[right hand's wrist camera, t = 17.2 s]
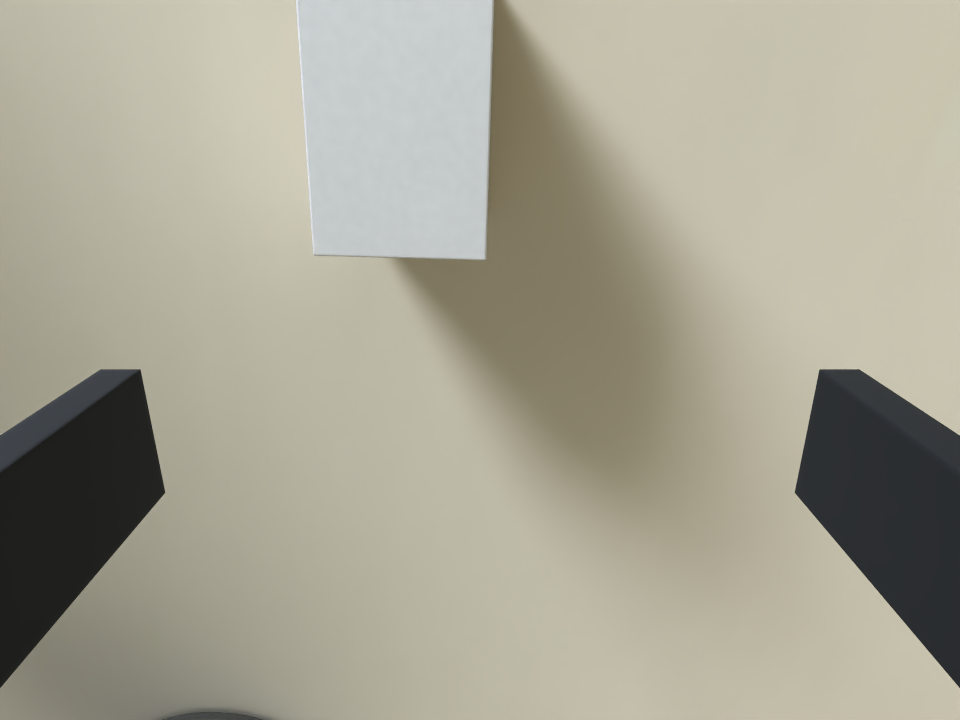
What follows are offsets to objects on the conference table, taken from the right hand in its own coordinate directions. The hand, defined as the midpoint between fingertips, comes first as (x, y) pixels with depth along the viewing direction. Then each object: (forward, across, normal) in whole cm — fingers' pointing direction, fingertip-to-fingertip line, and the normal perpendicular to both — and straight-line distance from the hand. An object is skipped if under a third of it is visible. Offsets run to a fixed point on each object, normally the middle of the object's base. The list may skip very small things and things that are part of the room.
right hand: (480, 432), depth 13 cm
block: (+16, +2, -6) cm, 18 cm away
